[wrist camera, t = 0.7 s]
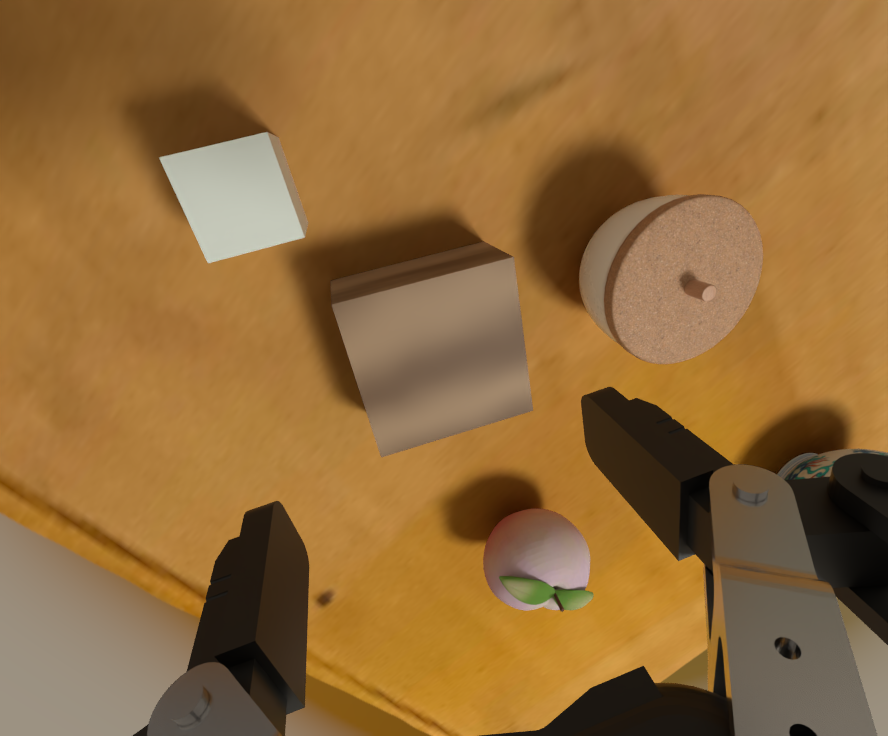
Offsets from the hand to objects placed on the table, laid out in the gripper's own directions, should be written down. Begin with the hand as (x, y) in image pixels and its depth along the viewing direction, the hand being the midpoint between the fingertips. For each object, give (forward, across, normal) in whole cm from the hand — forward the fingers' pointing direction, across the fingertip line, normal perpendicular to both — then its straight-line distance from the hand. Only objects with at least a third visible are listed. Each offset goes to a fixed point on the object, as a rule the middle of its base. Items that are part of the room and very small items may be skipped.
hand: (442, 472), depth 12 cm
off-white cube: (+22, +5, -6) cm, 24 cm away
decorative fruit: (+22, -6, +27) cm, 35 cm away
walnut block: (+22, -3, +6) cm, 23 cm away
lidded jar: (+22, -19, +5) cm, 30 cm away
